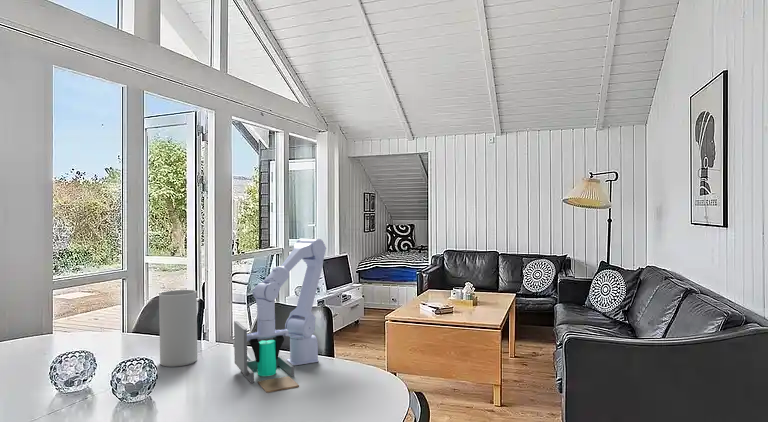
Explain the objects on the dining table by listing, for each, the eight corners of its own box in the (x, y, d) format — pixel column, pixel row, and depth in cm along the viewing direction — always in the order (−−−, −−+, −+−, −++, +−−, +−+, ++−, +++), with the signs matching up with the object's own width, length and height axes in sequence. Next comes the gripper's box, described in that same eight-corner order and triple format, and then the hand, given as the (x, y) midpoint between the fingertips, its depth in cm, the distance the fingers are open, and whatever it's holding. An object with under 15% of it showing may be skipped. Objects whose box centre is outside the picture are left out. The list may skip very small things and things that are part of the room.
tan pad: (288, 377, 167) (288, 376, 167) (299, 386, 158) (299, 385, 158) (258, 382, 162) (258, 381, 162) (266, 392, 153) (266, 391, 153)
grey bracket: (280, 363, 182) (279, 315, 182) (293, 375, 169) (293, 323, 168) (233, 370, 174) (232, 320, 174) (244, 384, 161) (243, 329, 161)
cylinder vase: (167, 369, 177) (166, 296, 177) (155, 362, 186) (154, 292, 186) (203, 362, 185) (202, 292, 185) (189, 355, 195) (188, 288, 194)
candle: (279, 371, 173) (279, 335, 173) (269, 377, 168) (269, 340, 168) (264, 369, 175) (263, 334, 175) (254, 375, 170) (253, 338, 170)
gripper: (283, 314, 178) (284, 354, 178) (241, 319, 171) (241, 360, 172) (290, 318, 172) (290, 359, 172) (246, 323, 165) (246, 365, 165)
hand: (266, 360), depth 171 cm, fingers closed on candle, 6 cm apart
